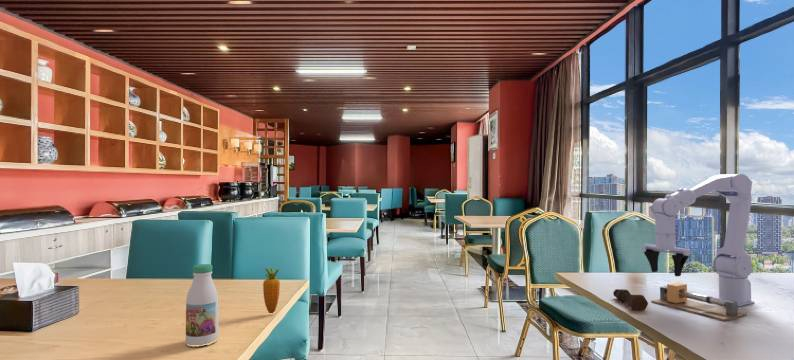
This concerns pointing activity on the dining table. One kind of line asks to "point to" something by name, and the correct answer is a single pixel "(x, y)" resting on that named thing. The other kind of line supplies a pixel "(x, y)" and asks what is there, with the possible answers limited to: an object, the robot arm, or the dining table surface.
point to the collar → (676, 292)
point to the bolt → (631, 299)
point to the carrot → (271, 290)
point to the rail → (705, 300)
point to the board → (700, 309)
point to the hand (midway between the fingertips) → (665, 273)
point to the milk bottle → (202, 308)
